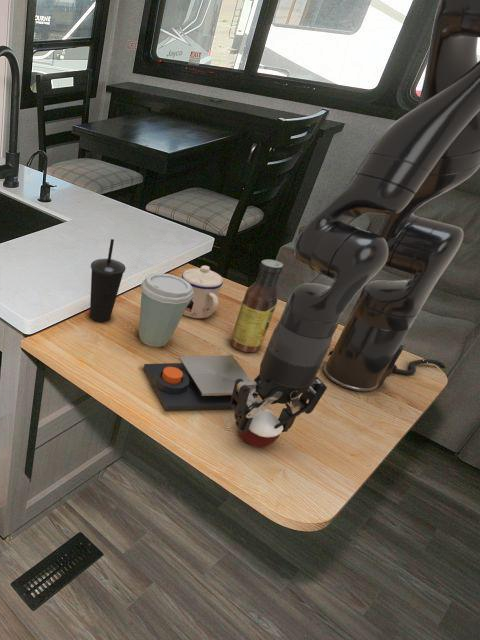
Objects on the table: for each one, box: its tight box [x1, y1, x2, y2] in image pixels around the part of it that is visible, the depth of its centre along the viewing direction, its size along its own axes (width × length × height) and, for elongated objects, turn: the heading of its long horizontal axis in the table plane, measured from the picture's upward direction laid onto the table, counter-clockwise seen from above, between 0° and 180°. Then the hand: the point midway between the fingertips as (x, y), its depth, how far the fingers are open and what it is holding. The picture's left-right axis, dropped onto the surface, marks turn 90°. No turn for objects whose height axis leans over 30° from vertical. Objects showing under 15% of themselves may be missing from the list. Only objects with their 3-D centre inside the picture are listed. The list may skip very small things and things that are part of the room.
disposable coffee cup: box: [138, 272, 194, 348], centre depth 112 cm, size 11×11×15 cm
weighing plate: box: [178, 354, 253, 396], centre depth 101 cm, size 11×12×1 cm
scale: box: [142, 362, 253, 412], centre depth 102 cm, size 18×13×3 cm
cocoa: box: [234, 404, 312, 448], centre depth 87 cm, size 10×6×12 cm, turn 10°
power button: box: [162, 367, 183, 384], centre depth 101 cm, size 4×4×2 cm
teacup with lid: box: [181, 265, 224, 319], centre depth 123 cm, size 12×9×12 cm
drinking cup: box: [89, 238, 127, 324], centre depth 119 cm, size 8×8×20 cm
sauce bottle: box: [230, 258, 284, 353], centre depth 109 cm, size 6×6×20 cm
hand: (261, 428), depth 89 cm, fingers closed on cocoa, 6 cm apart
